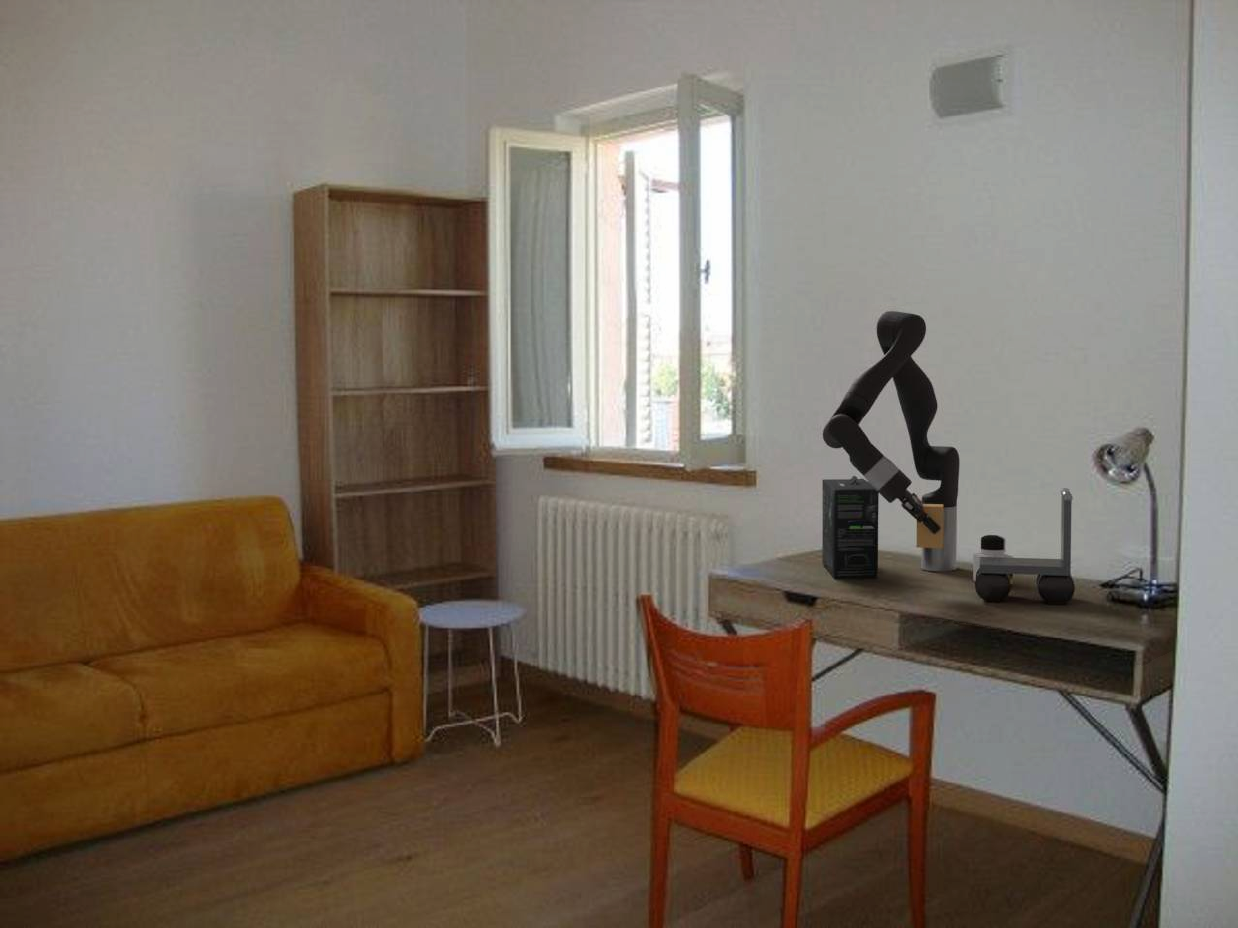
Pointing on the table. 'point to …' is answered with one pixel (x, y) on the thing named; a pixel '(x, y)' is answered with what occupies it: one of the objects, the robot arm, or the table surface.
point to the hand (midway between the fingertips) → (938, 529)
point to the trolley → (1032, 568)
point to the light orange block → (924, 534)
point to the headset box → (850, 528)
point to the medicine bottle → (990, 551)
